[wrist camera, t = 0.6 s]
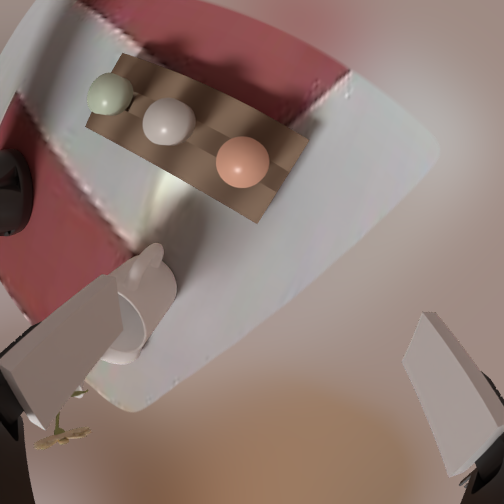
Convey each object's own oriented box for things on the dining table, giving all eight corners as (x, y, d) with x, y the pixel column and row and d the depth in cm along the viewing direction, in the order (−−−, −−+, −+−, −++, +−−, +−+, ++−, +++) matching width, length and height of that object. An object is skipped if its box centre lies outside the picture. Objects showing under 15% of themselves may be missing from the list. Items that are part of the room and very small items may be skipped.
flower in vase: (105, 357, 42) (30, 459, 19) (76, 300, 39) (-26, 394, 15) (166, 355, 40) (94, 490, 16) (136, 290, 37) (19, 418, 13)
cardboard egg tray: (98, 127, 30) (85, 126, 27) (134, 59, 26) (122, 53, 24) (259, 218, 32) (257, 224, 29) (306, 142, 28) (309, 140, 26)
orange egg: (217, 169, 27) (206, 171, 23) (239, 131, 26) (232, 127, 22) (255, 191, 28) (251, 197, 24) (278, 154, 26) (278, 153, 22)
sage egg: (102, 110, 26) (81, 106, 22) (119, 76, 24) (99, 68, 20) (129, 122, 26) (108, 119, 22) (147, 87, 25) (129, 79, 21)
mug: (146, 216, 33) (98, 240, 23) (201, 250, 34) (171, 287, 24) (117, 288, 37) (77, 325, 27) (165, 319, 38) (134, 365, 28)
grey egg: (153, 135, 27) (134, 133, 23) (173, 98, 25) (157, 90, 21) (187, 153, 27) (172, 152, 23) (208, 115, 25) (196, 109, 21)
